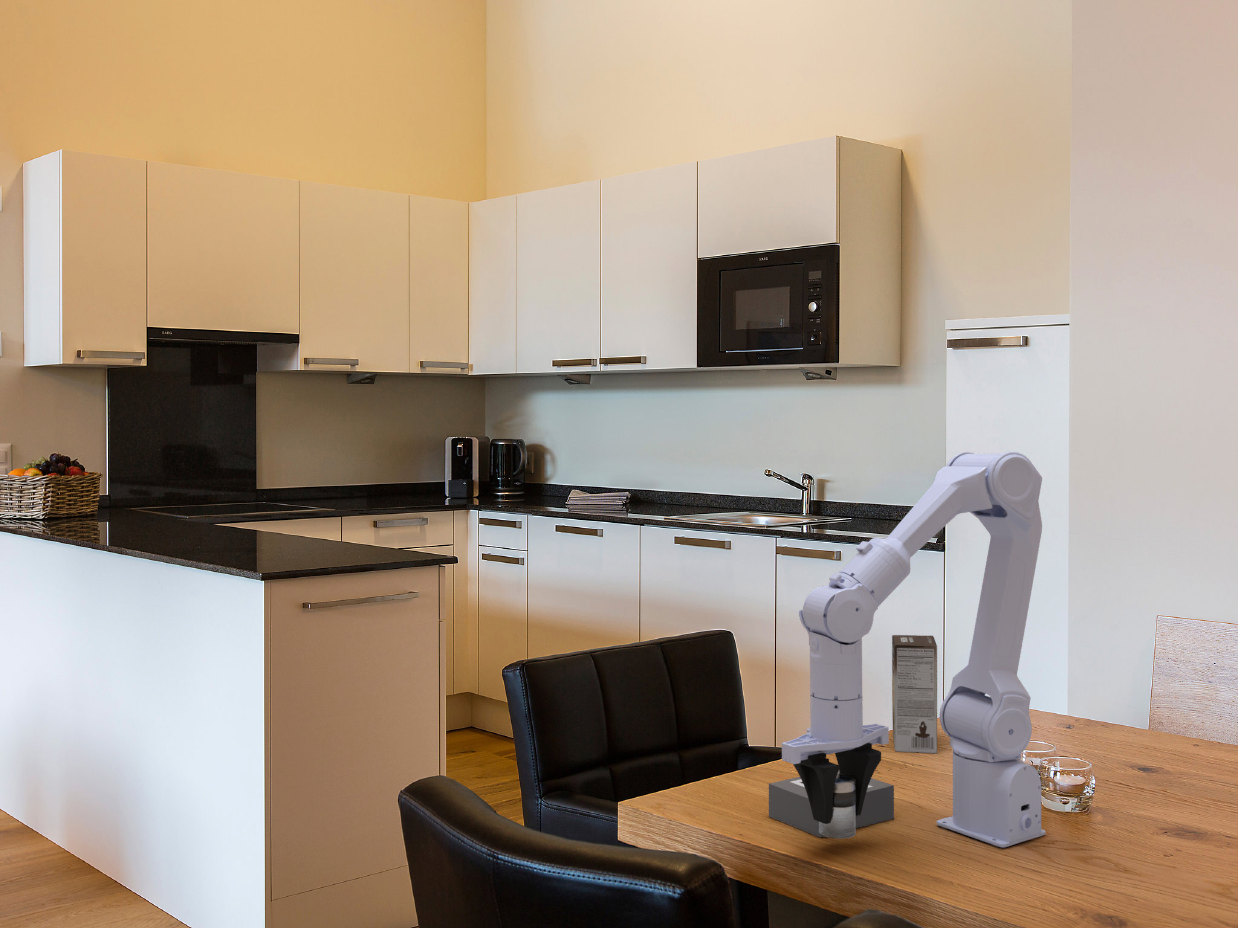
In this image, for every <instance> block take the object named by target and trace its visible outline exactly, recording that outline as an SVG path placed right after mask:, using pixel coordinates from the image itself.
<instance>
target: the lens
mask: <svg viewBox="0 0 1238 928" xmlns="http://www.w3.org/2000/svg"><path fill="white" fill-rule="evenodd" d="M856 831H857V830H856V779H855V778H854V777H852V776H850V775H846V774H839V773H838V774H837V777H836V780H835V785H834V791H833V808H832V819H831V823H828V824H824V823H821V822H819V833H820V834H822V835H823V836H826V837H825V838H831V839H838V840H839V839H841V840H843V839H850V838H854V837H855V836H856V834H857V833H856Z"/></svg>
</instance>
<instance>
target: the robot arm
mask: <svg viewBox="0 0 1238 928" xmlns="http://www.w3.org/2000/svg"><path fill="white" fill-rule="evenodd" d="M934 477H935V478H934V481H933V483H932V484H931V486H929V488H928V489H927V490H926V491H925V492H924V493H923V495H922V496H921V497H920V498H919V500H918V501H917V502H916V503H915V505H913V507H912V508H911V509H910V510H909V511H908V512H907V514H906V515H905V516H904V517H903V518H902V520H901V521H900V522H899V523H898V524H897V525H896V527H894V529H893V530H892V531H891V532H890V534H889V535H888V536H887V537H886V538H884V537H873V538H871V539H869V541H864V540H863V541H861V542H860V543H859V544H858V545H857V546H856V549H855V550H857V553H856V554H855V555H854V556H853V557H852V558H851V559H850V561H848V562H847V563H846V564H845V566H844V567H842V568H841V570H839V572H833V573H832V575H830V576H829V582H828V585H822V586H818V587H815V588H814V589H813V590H812V591H810V592H809V593H808V595H807V596H806V598H805V599H804V604H803V605H802V609H800V610H799V611H798V616H799V620H800V623H801V626H802V627H803V628H804V629H805V631H806V632H807V634H808V635H807V636H808V646H809V687H810V688H809V693H810V694H809V701H810V702H809V703H810V705H809V707H810V708H809V710H810V712H809V713H810V715H809V716H810V717H809V718H810V719H809V720H810V722H809V723H810V725H809V726H810V727H808V728H806V733H804V734H802V735H800V736H798V737H796V738H794V739H791V740H788V741H784V742H781V761H784V762H787V763H789V764H792V765H793V767H794V768H795V770H796V772H797V774H798V777H800V778H801V780H802V782H803V784H804V787H805V789H806V792H807V796H808V799H809V802H810V806H811V810H812V814H813V819H814V820H816V821H819V822H821V823H824V824H828V823H831V819H832V808H833V791H834V785H835V780H836V777H837V774H838V771H839V772H840V774H846V775H850V776H852V777H854V778H855V779H856V816H858V815H861V811H862V807H863V803H864V799H865V795H866V792H867V788H868V785H869V782H870V780H871V778H873V775H874V773H875V772H876V770H877V767H878V766H879V764H880V763H881V761H882V752H881V751H880V750H879V749H875V748H873V745H878V744H879V745H889V742H890V741H889V735H890V734H889V731H890V730H889V726H887V725H886V726H885V725H882V724H878V723H871V724H864V725H863V723H864V720H863V719H864V718H863V717H864V716H863V714H864V713H863V637H865V636H866V635H868V634H869V633H870V631H871V629H872V626H873V622H874V616H875V614H876V611H877V610H878V608H879V607H880V606H881V604H882V603H884V602H885V600H886V599H888V598H889V596H890V595H891V594H892V593H893V592H894V591H896V589H897V588H898V587H899V585H901V584H902V583H903V581H904V580H905V579H906V578H907V577H908V576H909V575H910V573H911V558H912V557H913V556H914V555H915V554H916V553H917V552H918V551H919V550H920V549H922V548H923V547H925V545H926V544H927V543H928V542H929V541H930V540H931V539H933V538H934V537H935V536H936V535H937V534H938V533H939V532H940V531H941V530H942V529H944V528H945V527H946V526H947V524H949V523H950V522H951V521H952V520H953V519H954V518H955V517H957V515H960V514H965V513H970V514H971V515H973V516H974V517H975V518H977V520H979V521H980V523H981V524H982V526H983V527H984V528H985V530H986V531H987V532H988V534H989V535H990V541H989V545H988V551H987V555H986V556H987V557H986V562H985V568H984V573H983V579H982V585H981V591H980V595H979V601H978V607H977V613H976V618H975V624H974V629H973V635H972V639H971V640H972V641H971V645H970V646H971V647H970V652H969V658H968V663H967V665H966V666H965V667H964V668H963V669H961V670H960V671H959V672H958V673H956V674H955V675H954V676H953V677H952V679H951V687H950V688H949V692H948V693H947V695H946V696H945V698H944V699H943V701H942V703H941V706H940V709H939V723H940V726H941V728H942V730H943V732H944V733H945V734H946V736H947V737H949V746H950V747H951V748H952V816H949V817H943V818H941V819H938V820H936V825H937V826H940V827H941V828H945V829H949V830H951V831H953V832H955V833H959V834H962V835H965V836H968V837H971V838H972V839H973V838H974V839H976V840H980V841H981V842H985V843H987V844H990V845H993V846H995V847H998V848H999V847H1000V848H1007V847H1010V846H1014V845H1016V844H1021V843H1022V842H1027V841H1029V840H1033V839H1036V838H1039V837H1042V836H1045V835H1046V830H1045V829H1043V828H1042V781H1041V777H1040V775H1039V772H1038V770H1037V768H1035V767H1034V766H1032V765H1030V764H1028V763H1027V762H1024V761H1023V760H1021V759H1022V753H1024V751H1025V750H1026V749H1027V747H1028V745H1029V743H1030V741H1031V739H1032V732H1033V731H1032V730H1033V728H1032V721H1031V716H1030V704H1031V696H1030V694H1029V692H1028V691H1027V689H1026V688H1025V686H1024V685H1023V683H1022V682H1021V680H1020V678H1019V677H1018V671H1019V664H1020V658H1021V653H1022V647H1023V643H1024V641H1023V640H1024V638H1025V632H1026V631H1025V630H1026V624H1027V619H1028V612H1029V608H1030V607H1029V606H1030V602H1031V601H1030V600H1031V596H1032V589H1033V583H1034V578H1035V572H1036V566H1037V563H1038V561H1037V560H1038V556H1039V555H1038V554H1039V550H1040V549H1039V548H1040V543H1041V539H1042V534H1043V533H1042V532H1043V521H1042V516H1041V515H1042V514H1041V509H1040V504H1039V501H1040V500H1039V499H1040V494H1041V490H1042V489H1041V488H1042V482H1043V476H1042V475H1041V474H1040V472H1039V471H1038V469H1037V468H1036V467H1035V466H1034V464H1033V463H1032V462H1031V460H1030V459H1029V458H1028V457H1027V456H1026V455H1025V454H1023V453H1020V452H1018V451H1006V452H1001V453H1000V452H999V453H998V452H996V453H994V452H991V453H988V452H987V453H985V452H982V453H980V452H979V453H974V452H968V451H966V452H960V453H957V454H956V455H954V456H952V457H951V458H950V459H949V461H948V463H946V466H945V465H944V466H943V467H942V468H940V469H939V470H938V471H937V472H936V475H935V476H934ZM986 694H987V695H988V696H987V695H986ZM833 754H835V759H836V761H837V764H836V763H833V762H830V759H829V757H828V758H827V755H833Z"/></svg>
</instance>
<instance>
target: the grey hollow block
mask: <svg viewBox="0 0 1238 928" xmlns="http://www.w3.org/2000/svg"><path fill="white" fill-rule="evenodd" d="M838 773H839V774H840V772H839V771H838ZM768 817H769V818H771V819H775V820H776V821H779V822H781V823H783V824H787V826H788V825H789V826H791V827H794V828H795V827H796V829H798V830H800V829H801V830H800V831H802V832H805V833H808V834H810V833H811V835H813V836H815V837H818V838H820V837H823V838H827V837H826V836H823V835H822V834H820V833H819V821H816V820H814V819H813V814H812V810H811V806H810V802H809V799H808V796H807V792H806V789H805V787H804V784H803V782H802V780H801V778H800V776H797V777H792V778H787V779H784V780H783V779H782V780H780V781H773V782H771V783H768ZM893 819H895V785H894V784H890V783H888V782H884V781H882V780H879V779H876V778H873V777H871V780H870V782H869V785H868V788H867V792H866V795H865V799H864V803H863V807H862V811H861V815H858V816H856V828H857V829H859V828H858V827H860V828H864V827H868V826H872V825H875V824H878V823H883V822H886V821H890V820H893ZM871 824H872V825H871ZM863 826H864V827H863Z"/></svg>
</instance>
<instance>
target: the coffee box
mask: <svg viewBox="0 0 1238 928" xmlns="http://www.w3.org/2000/svg"><path fill="white" fill-rule="evenodd" d="M891 677H892V678H891V692H892V693H891V696H892V697H891V702H892V705H891V706H892V707H891V708H892V738H893V746H894V747H893V748H894V751H895V752H897V753H899V752H900V753H916V752H919V753H921V754H938V645H937V642H936V639H935V636H934V635H916V634H914V635H910V634H909V635H908V634H905V635H904V634H892V635H891ZM919 753H918V754H919Z"/></svg>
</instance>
